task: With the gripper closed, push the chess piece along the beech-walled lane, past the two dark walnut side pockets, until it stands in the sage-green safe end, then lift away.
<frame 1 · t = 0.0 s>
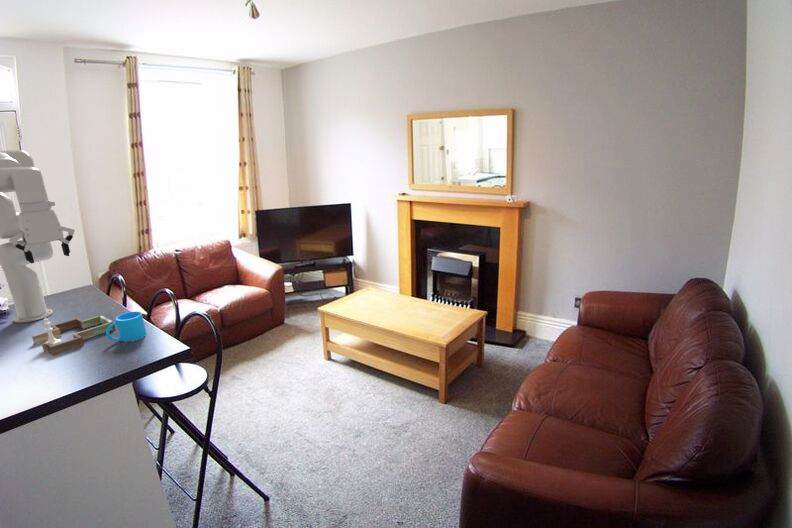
hand: (49, 259, 145), 31 cm above the table, tool pointing down, fingers open, 9 cm apart
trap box: (72, 337, 160), on the table
chess piece: (53, 344, 156), on the table
mug: (127, 339, 157), on the table
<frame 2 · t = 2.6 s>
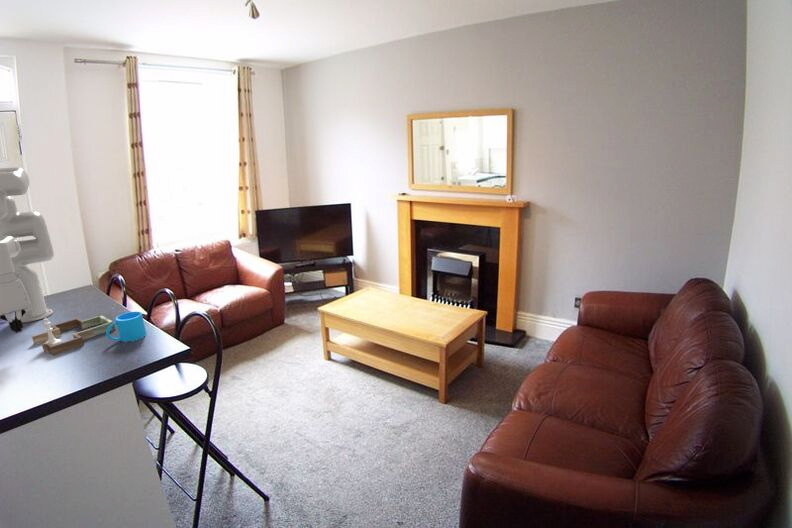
hand: (17, 331, 147), 8 cm above the table, tool pointing down, fingers closed
nothing on the table moved.
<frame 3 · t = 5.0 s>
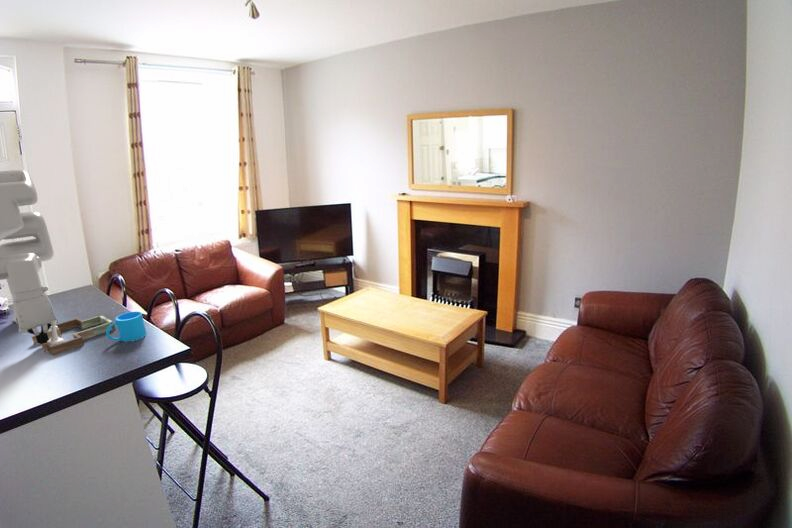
hand: (43, 343, 153), 1 cm above the table, tool pointing down, fingers closed
chess piece: (55, 342, 156), on the table, touching gripper
everything else where it was.
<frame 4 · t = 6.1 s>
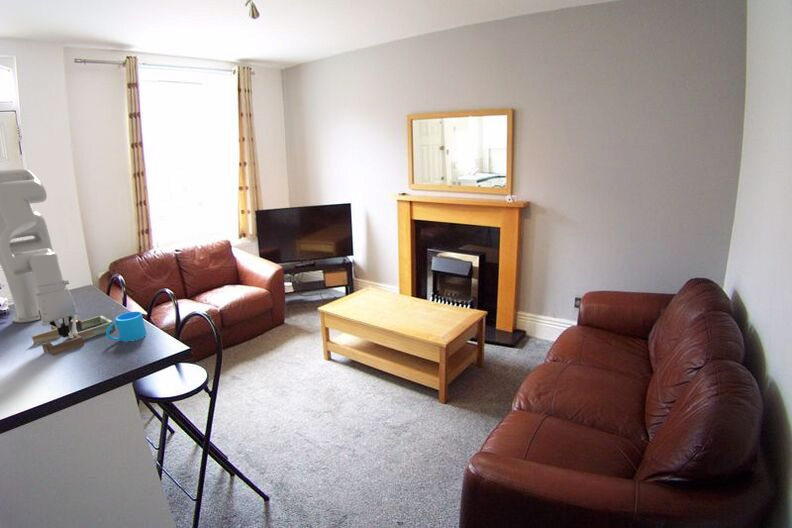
hand: (65, 336, 157), 2 cm above the table, tool pointing down, fingers closed
chess piece: (73, 336, 159), on the table, touching gripper
everything else where it was.
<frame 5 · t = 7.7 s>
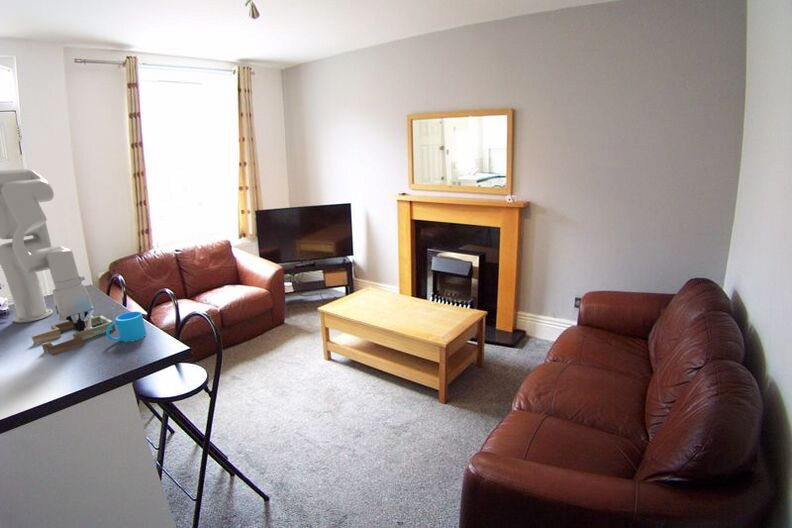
hand: (81, 330, 161), 2 cm above the table, tool pointing down, fingers closed
chess piece: (88, 332, 163), on the table, touching gripper
everything else where it was.
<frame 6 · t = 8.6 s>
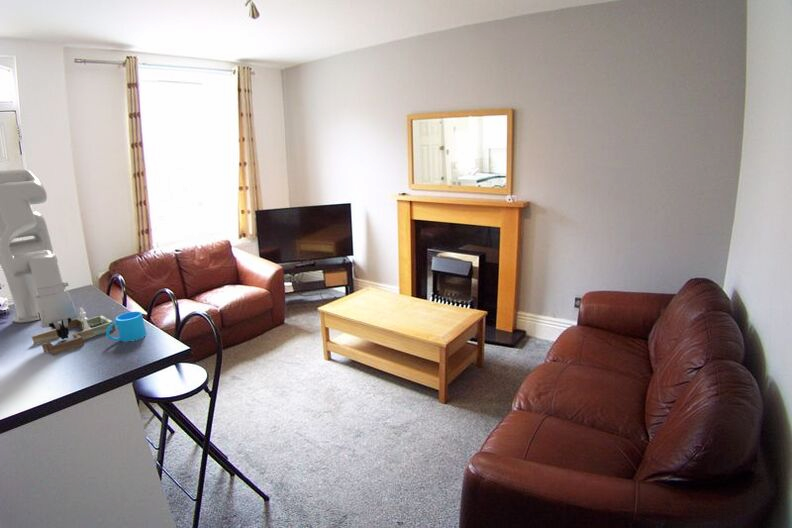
hand: (64, 337, 158), 1 cm above the table, tool pointing down, fingers closed
chess piece: (88, 333, 163), on the table
everything else where it was.
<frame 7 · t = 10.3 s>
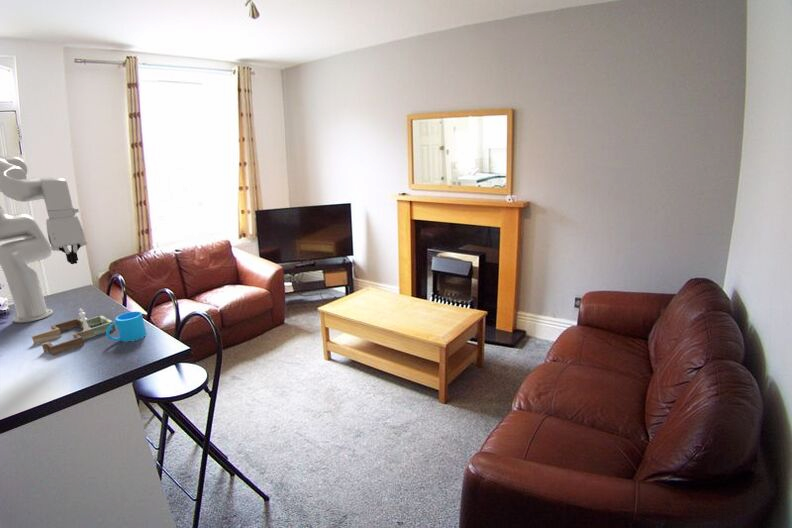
hand: (73, 263, 162), 25 cm above the table, tool pointing down, fingers closed
nothing on the table moved.
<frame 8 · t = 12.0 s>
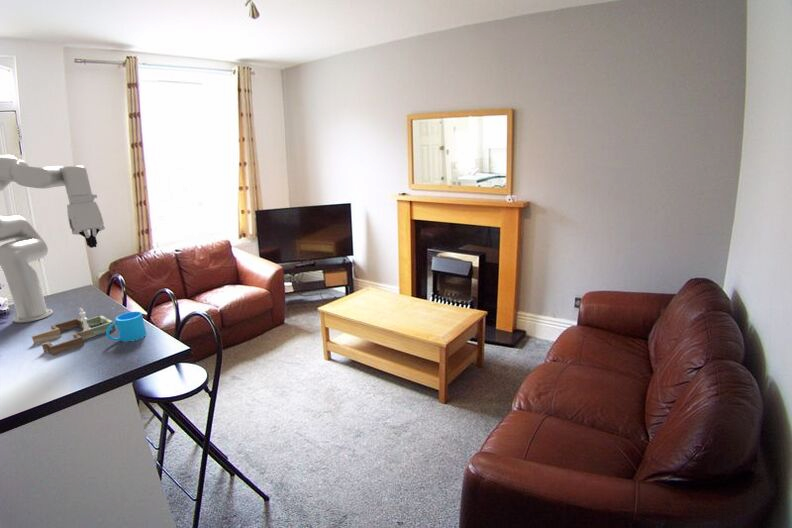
hand: (92, 246, 170), 29 cm above the table, tool pointing down, fingers closed
nothing on the table moved.
at the end: chess piece inside the target area (3.0 cm from its centre), on the table; chess piece tilted 2° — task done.
